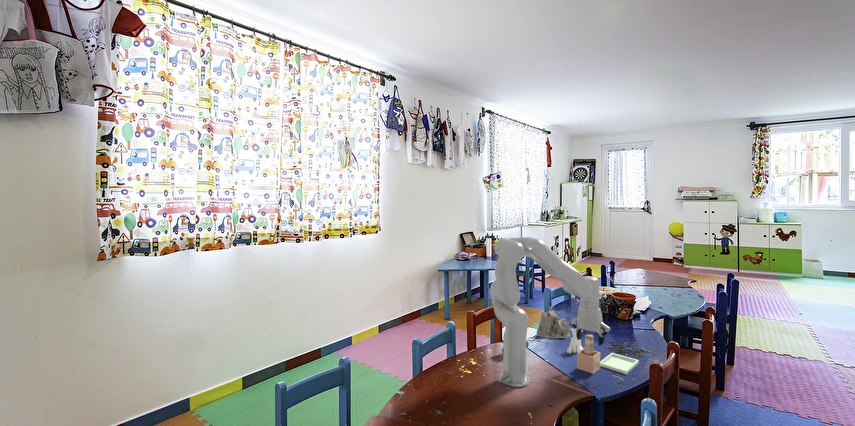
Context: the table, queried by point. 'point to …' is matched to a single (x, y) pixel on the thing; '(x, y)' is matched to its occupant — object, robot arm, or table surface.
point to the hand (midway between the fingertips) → (589, 341)
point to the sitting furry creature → (574, 343)
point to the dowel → (589, 345)
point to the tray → (619, 363)
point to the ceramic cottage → (553, 326)
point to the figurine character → (526, 344)
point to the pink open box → (588, 361)
